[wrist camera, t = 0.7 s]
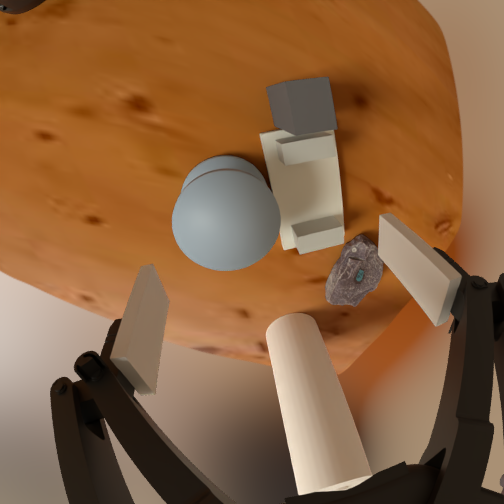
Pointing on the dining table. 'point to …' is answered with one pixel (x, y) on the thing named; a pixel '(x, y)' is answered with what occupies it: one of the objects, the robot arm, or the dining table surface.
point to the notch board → (305, 188)
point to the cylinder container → (314, 408)
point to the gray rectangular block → (303, 106)
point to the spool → (225, 214)
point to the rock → (354, 272)
